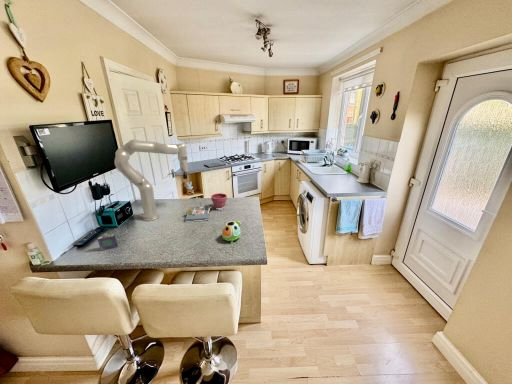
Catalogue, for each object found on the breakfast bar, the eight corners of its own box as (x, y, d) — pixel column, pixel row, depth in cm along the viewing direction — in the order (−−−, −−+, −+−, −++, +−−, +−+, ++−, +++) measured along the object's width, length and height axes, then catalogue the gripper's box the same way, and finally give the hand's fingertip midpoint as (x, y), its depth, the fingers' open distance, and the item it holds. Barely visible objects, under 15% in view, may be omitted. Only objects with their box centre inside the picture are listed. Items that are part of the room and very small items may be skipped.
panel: (185, 221, 163) (184, 217, 162) (191, 209, 186) (190, 205, 184) (207, 220, 165) (207, 215, 164) (210, 208, 188) (210, 204, 186)
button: (195, 214, 169) (195, 212, 169) (196, 212, 173) (196, 210, 173) (200, 214, 170) (200, 212, 169) (201, 212, 174) (201, 210, 173)
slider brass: (188, 214, 170) (187, 210, 169) (189, 212, 173) (188, 208, 171) (192, 214, 170) (191, 209, 169) (192, 212, 173) (192, 208, 172)
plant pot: (229, 206, 193) (228, 193, 189) (224, 212, 181) (223, 199, 176) (215, 204, 196) (214, 192, 192) (209, 210, 184) (208, 197, 179)
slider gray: (205, 210, 178) (204, 205, 177) (205, 208, 181) (205, 204, 180) (208, 209, 179) (208, 205, 177) (208, 208, 181) (208, 204, 180)
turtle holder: (247, 233, 147) (247, 218, 143) (233, 245, 132) (232, 230, 128) (233, 228, 153) (233, 214, 149) (218, 240, 138) (217, 225, 134)
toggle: (199, 206, 182) (199, 201, 182) (200, 206, 183) (199, 201, 184) (201, 206, 182) (201, 201, 182) (201, 206, 183) (201, 201, 184)
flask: (100, 251, 127) (96, 236, 123) (101, 248, 129) (97, 234, 125) (117, 247, 131) (113, 233, 127) (118, 245, 133) (114, 231, 129)
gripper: (185, 159, 165) (187, 181, 172) (188, 156, 179) (191, 176, 186) (176, 160, 165) (178, 181, 171) (180, 157, 179) (182, 176, 185)
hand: (185, 178), depth 178 cm, fingers closed
